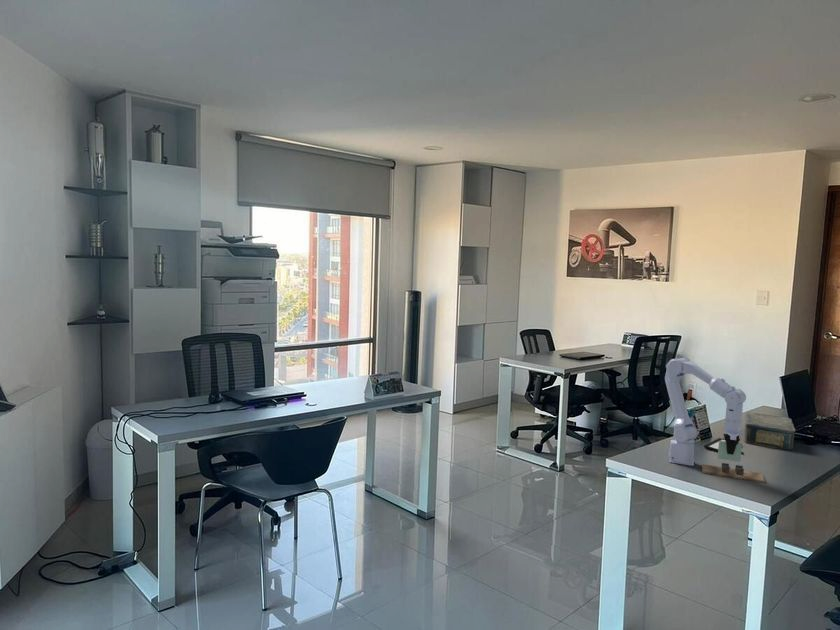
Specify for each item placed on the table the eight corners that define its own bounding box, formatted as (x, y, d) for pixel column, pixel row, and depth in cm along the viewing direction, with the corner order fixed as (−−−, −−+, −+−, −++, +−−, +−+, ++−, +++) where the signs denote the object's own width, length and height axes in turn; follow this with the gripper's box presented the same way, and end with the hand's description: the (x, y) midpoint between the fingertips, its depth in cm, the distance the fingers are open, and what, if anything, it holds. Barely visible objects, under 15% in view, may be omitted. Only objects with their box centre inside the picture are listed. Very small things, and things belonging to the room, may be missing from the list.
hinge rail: (702, 472, 243) (703, 464, 243) (701, 465, 252) (702, 457, 252) (764, 483, 235) (765, 474, 234) (761, 475, 244) (762, 467, 243)
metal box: (742, 443, 291) (744, 423, 291) (743, 429, 320) (744, 410, 319) (794, 452, 281) (796, 431, 281) (789, 436, 310) (791, 417, 309)
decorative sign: (753, 450, 283) (719, 441, 294) (753, 446, 283) (720, 437, 293) (737, 459, 267) (702, 449, 278) (738, 455, 267) (703, 445, 277)
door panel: (717, 458, 242) (719, 441, 242) (717, 457, 244) (719, 440, 243) (740, 462, 239) (741, 444, 238) (739, 460, 240) (741, 443, 240)
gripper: (746, 425, 232) (743, 460, 233) (742, 417, 245) (739, 450, 246) (725, 422, 234) (722, 456, 236) (723, 415, 248) (720, 447, 249)
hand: (730, 453), depth 241 cm, fingers closed on door panel, 2 cm apart
